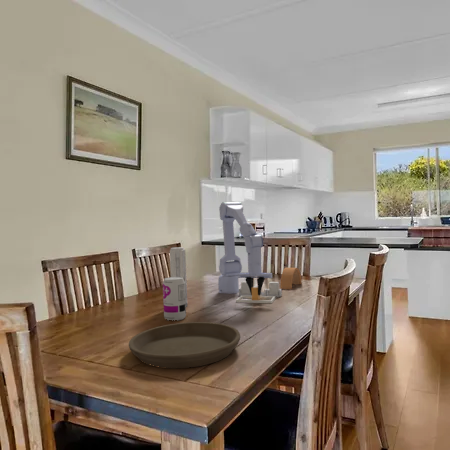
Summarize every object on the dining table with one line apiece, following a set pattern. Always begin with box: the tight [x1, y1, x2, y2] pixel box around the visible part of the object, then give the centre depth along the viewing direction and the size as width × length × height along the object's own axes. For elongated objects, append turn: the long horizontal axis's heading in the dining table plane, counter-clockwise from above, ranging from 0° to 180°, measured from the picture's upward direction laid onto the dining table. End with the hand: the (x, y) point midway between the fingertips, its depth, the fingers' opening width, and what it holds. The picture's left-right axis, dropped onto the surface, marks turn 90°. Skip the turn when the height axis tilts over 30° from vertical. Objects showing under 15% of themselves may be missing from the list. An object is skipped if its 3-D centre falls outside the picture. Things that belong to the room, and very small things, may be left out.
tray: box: [235, 296, 276, 304], centre depth 172 cm, size 15×9×2 cm, turn 73°
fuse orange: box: [251, 285, 261, 300], centre depth 172 cm, size 4×2×6 cm, turn 163°
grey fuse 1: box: [240, 281, 250, 294], centre depth 184 cm, size 4×2×6 cm, turn 73°
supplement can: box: [162, 276, 187, 322], centre depth 150 cm, size 8×8×15 cm
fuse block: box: [238, 287, 283, 298], centre depth 183 cm, size 19×7×4 cm, turn 73°
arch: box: [279, 267, 303, 290], centre depth 205 cm, size 6×20×10 cm, turn 155°
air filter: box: [169, 246, 188, 308], centre depth 169 cm, size 6×6×25 cm
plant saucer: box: [128, 321, 241, 369], centre depth 113 cm, size 31×31×5 cm
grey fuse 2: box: [268, 281, 280, 294], centre depth 181 cm, size 4×2×6 cm, turn 73°
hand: (255, 294), depth 172 cm, fingers closed on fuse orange, 2 cm apart
